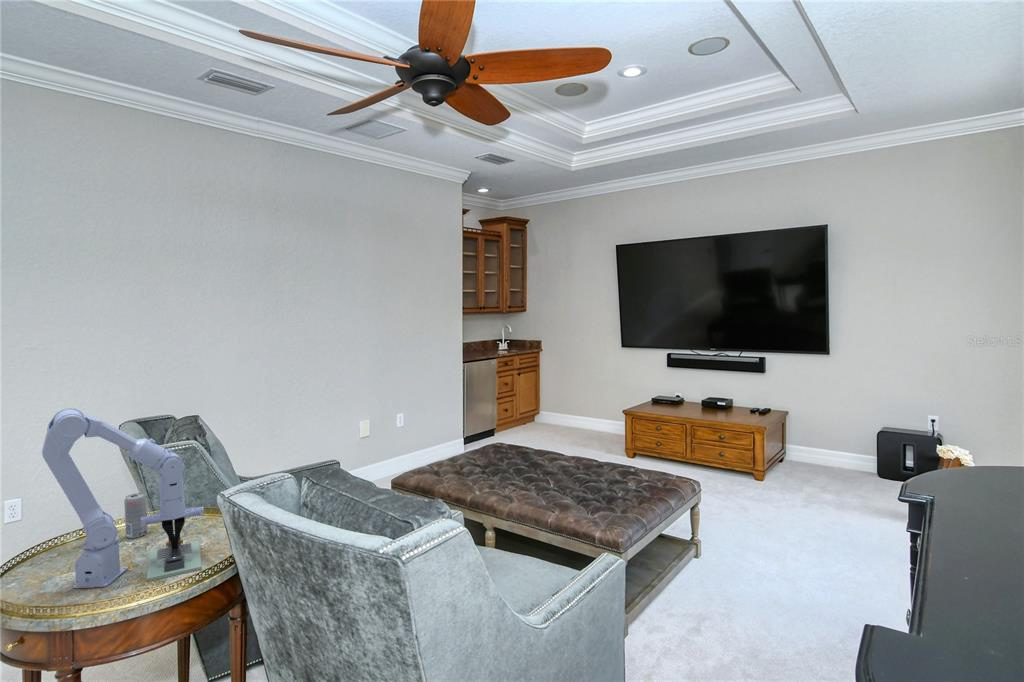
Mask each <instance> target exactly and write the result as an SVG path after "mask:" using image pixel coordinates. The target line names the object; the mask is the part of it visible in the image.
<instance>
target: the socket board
mask: <svg viewBox="0 0 1024 682" xmlns="http://www.w3.org/2000/svg"><path fill="white" fill-rule="evenodd" d="M167 539H168V541H170V539H169V537H168V538H167ZM174 539H175V533H174ZM179 539H181V535H180V536H179ZM190 543H191V549H192V561H189V562H184V559H181V560H176V561H171V562H167V563H166V562H165V563H164V567H161V568H157V563H156V560H157V549H158V548H157V549H153V550H149V554H148V563H147V564H148V565H147V571H146V573H147V574H146V582H152V581H157V580H162V579H165V578H169V577H175V576H179V575H184V574H187V573H192V572H197V571H201V570H202V560H201V547H200V546H201V545H200V540H198V541H191V542H190ZM182 544H183V543H182ZM182 544H181V545H182ZM185 544H187V543H185ZM167 547H168V546H167ZM167 547H166V546H165V548H167ZM162 548H163V547H162ZM162 548H160V549H162Z"/></svg>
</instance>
